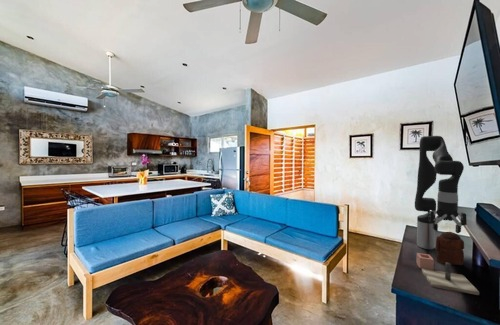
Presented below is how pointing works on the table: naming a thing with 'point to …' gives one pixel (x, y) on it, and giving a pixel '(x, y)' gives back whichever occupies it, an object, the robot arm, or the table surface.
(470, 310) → the table surface
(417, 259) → the bead
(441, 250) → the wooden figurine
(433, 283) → the peg board
